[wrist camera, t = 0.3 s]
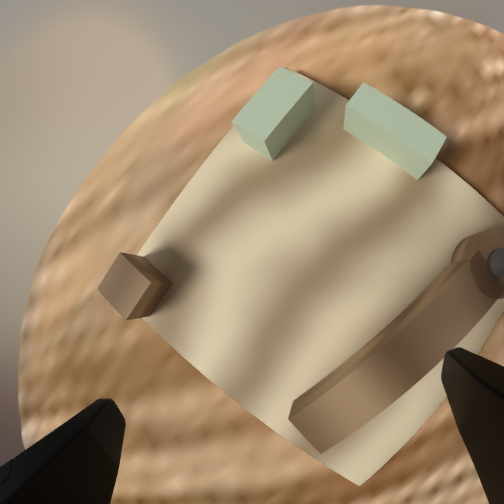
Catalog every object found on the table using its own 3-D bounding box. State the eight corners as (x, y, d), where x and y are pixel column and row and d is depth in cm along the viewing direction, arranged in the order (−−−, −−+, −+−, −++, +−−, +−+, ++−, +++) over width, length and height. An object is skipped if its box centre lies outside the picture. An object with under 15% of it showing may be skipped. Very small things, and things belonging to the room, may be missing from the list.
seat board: (526, 250, 17) (557, 243, 13) (358, 477, 18) (362, 509, 14) (286, 75, 22) (279, 41, 18) (123, 289, 23) (89, 289, 19)
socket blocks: (431, 156, 18) (447, 136, 15) (380, 237, 19) (391, 228, 16) (300, 75, 21) (296, 48, 18) (243, 142, 21) (231, 121, 18)
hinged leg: (475, 223, 17) (501, 211, 14) (507, 268, 16) (536, 265, 13) (287, 395, 19) (280, 417, 15) (325, 437, 18) (325, 464, 14)
